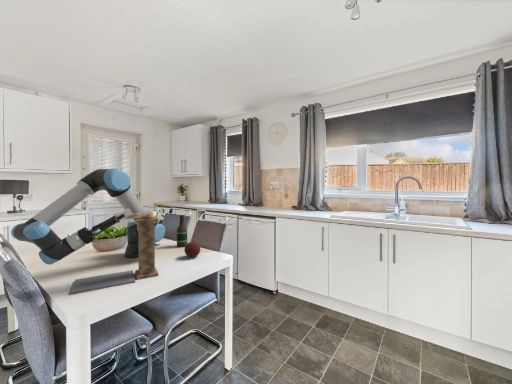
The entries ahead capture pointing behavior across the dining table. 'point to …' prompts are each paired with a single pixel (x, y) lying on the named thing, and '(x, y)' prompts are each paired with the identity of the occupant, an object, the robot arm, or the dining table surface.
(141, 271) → the stand
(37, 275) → the dining table surface
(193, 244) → the decorative ball
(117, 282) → the mat
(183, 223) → the beer bottle
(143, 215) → the spoon
